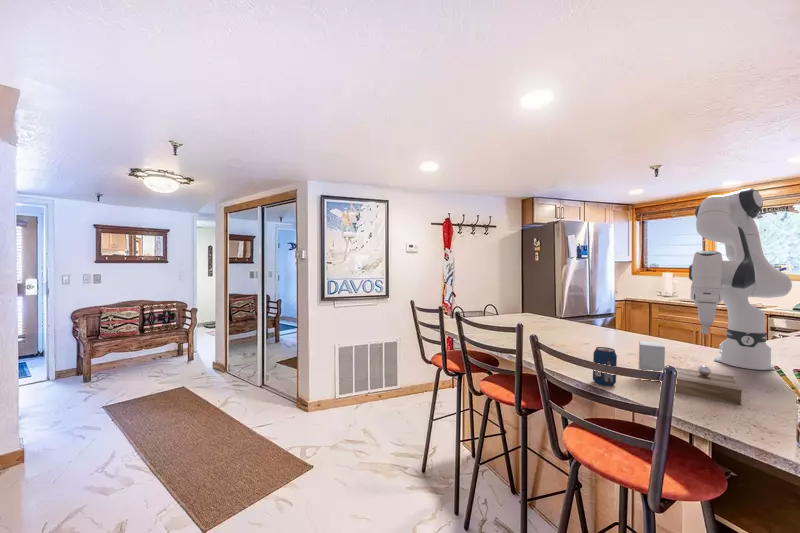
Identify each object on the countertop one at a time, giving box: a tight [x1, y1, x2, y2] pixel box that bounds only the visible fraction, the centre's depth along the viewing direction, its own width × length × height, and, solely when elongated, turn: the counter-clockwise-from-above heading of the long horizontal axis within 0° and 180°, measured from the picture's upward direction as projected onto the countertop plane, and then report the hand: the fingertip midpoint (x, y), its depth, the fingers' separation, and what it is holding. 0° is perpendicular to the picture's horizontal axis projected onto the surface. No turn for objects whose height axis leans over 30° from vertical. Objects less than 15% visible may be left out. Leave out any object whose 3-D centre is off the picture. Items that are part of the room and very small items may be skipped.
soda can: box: [592, 346, 618, 388], centre depth 126 cm, size 7×7×12 cm
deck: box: [675, 367, 743, 406], centre depth 123 cm, size 24×16×4 cm, turn 142°
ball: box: [697, 365, 712, 376], centre depth 128 cm, size 4×4×4 cm
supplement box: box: [638, 340, 666, 371], centre depth 132 cm, size 7×7×13 cm
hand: (704, 333), depth 133 cm, fingers closed
